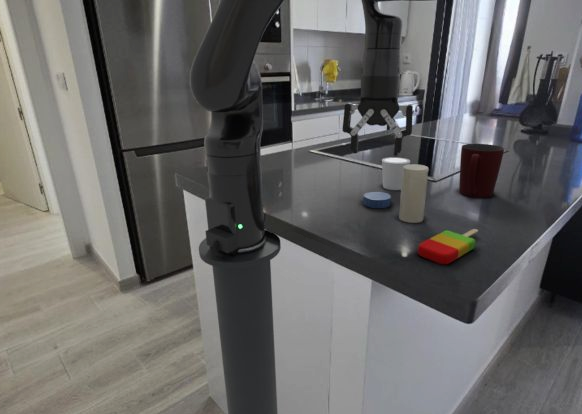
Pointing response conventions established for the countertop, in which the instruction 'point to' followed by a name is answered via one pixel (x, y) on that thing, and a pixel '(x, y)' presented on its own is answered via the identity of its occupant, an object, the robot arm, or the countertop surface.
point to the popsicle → (447, 246)
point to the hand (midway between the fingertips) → (375, 153)
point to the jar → (413, 193)
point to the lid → (377, 200)
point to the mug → (479, 169)
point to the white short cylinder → (393, 172)
